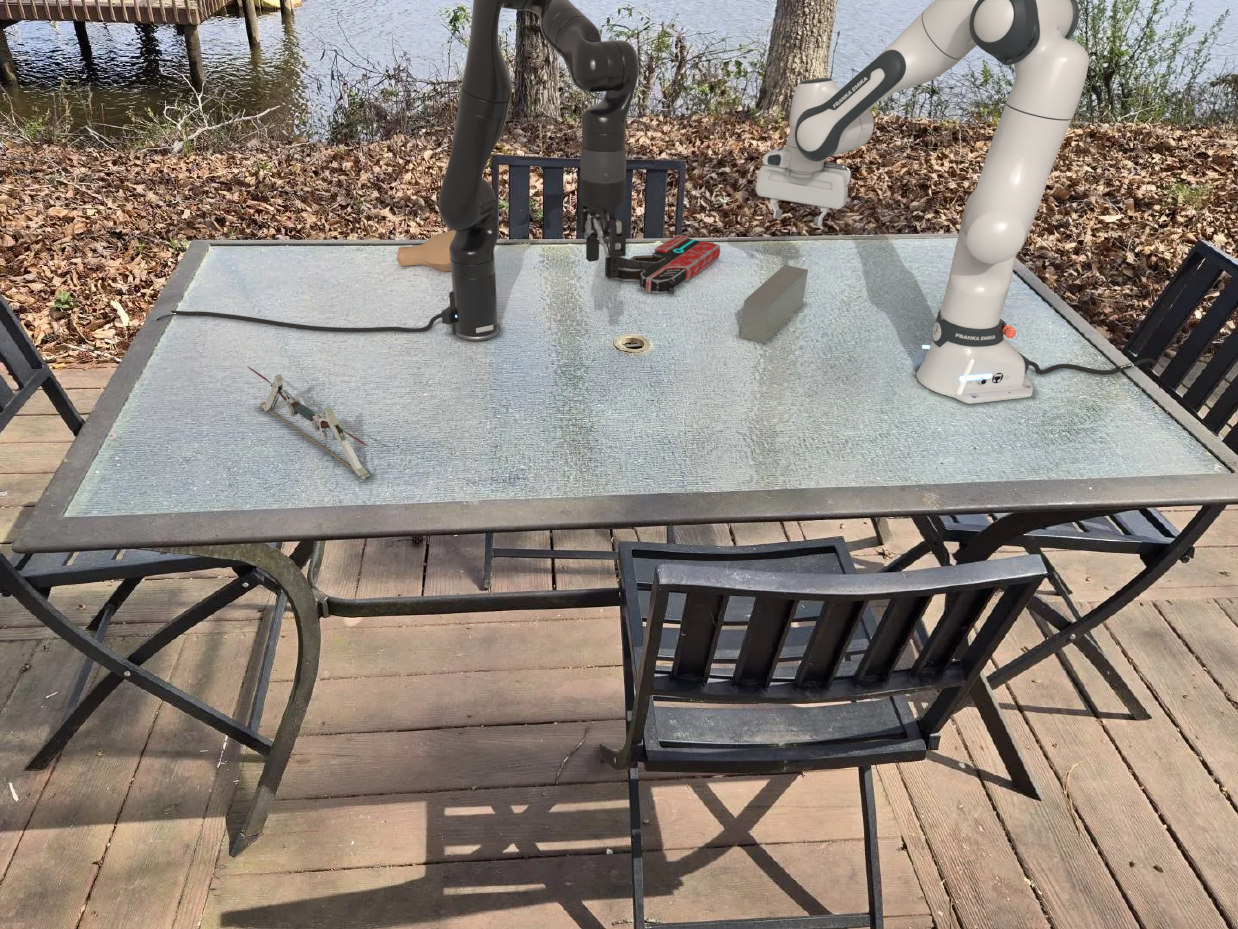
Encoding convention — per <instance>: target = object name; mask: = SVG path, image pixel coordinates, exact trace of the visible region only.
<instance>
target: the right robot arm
mask: <svg viewBox="0 0 1238 929" xmlns="http://www.w3.org/2000/svg"><path fill="white" fill-rule="evenodd" d="M1079 21H1080V5H1079V3H1078V0H933V1H932V2H931V3H930V4H929V5H928V6H927V7H925V9H924V10H923V11H922V12H921V13H920V14H919V15H918V16H916V18H915V19H914V20H913V21H912V22H911V23H910V24H909V25H908V26H907V27H906V28H905V29H904V30H903V31H902V32H901V33H900V35H898V36H897V38H895V39H894V40H893V42H891V43H890V44H889V45H888V46H887V47H886V48H885V49H884V50H882V52H881V53H880V54H879V55H877V57H876V58H874V60H872V61H871V62H870V63H869V64H868V65H867V66H865V67H864V68H863V69H862V70H861V71H860V72H858V73H857V74H856V75H855V76H854V77H852V79H850V80H849V81H848V82H847V83H846V84H845V85H844V86H842V88H840V87H839V86H838V84H837V83H836V81H835V80H834V79H833V78H829V77H815V78H810V79H805V80H802V81H800V82H799V83H798V84H797V85H796V87H795V90H794V93H793V96H792V100H791V106H790V111H789V118H788V121H789V122H788V125H789V134H788V137H787V141H786V144H785V146H784V147H783V146H782V147H778V148H773V149H771V150H770V151H768V152H766V153H765V154H764V155H763V157H762V162H763V165H762V166H761V167H760V168H759V170H758V174H757V178H756V184H755V193H756V195H757V196H758V197H761V198H769V199H770V200H769V204H770V206H771V209H772V211H773V214H772V218H773V219H775V220H776V219H777V220H781V219H782V217H783V209H780V207H779V204H778V202H780V201H785V202H791V203H796V204H803V205H808V206H809V205H810V206H815V207H820V211H819V212H821V213H820V215H816V216H815V217H813V224H812V225H813V226H816V227H821V226H823V220H824V217H825V216H826V215H827V214H828V212H829V211H830V209H834V210H840V209H842V208H843V207H845V206H846V204H847V203H848V196H849V185H850V183H851V179H852V171H851V169H850V167H847V165H846V164H844V163H836V162H831V161H827V159H828V158H831V157H832V156H837V155H841V154H844V153H847V152H850V151H853V150H857V149H859V148H862V147H863V146H865V145H867V143H868V142H869V141H870V140H871V138H872V136H873V133H874V130H875V117H874V113H873V112H872V108H873V107H874V106H875V105H876V104H877V103H879V102H880V101H882V100H884V99H885V98H887V97H889V96H891V95H893V94H896V93H898V92H901V91H903V90H906V89H909V88H913V87H916V86H920V85H924V84H925V83H929V82H931V81H933V80H935V79H936V78H938V77H940V76H941V75H943V74H944V73H946V72H948V71H949V70H951V69H952V68H953V67H954V66H956V65H957V64H958V63H959V62H960V61H961V60H963V59H964V58H965V57H966V56H967V55H968V54H969V53H970V52H971V51H972V50H974V49H975V48H976V47H978V48H980V49H981V50H982V51H984V52H985V53H987V54H989V55H990V56H991V57H993V58H995V60H997V61H998V62H999V63H1000V64H1002V65H1003V66H1012V65H1013V66H1014V71H1015V72H1014V73H1015V74H1014V80H1013V84H1012V86H1011V90H1010V92H1009V95H1008V97H1007V100H1006V102H1005V105H1004V108H1003V110H1002V113H1001V116H1000V118H999V120H998V123H997V126H996V129H995V131H994V134H993V137H992V139H991V141H990V144H989V148H988V150H987V154H986V157H985V160H984V163H983V166H982V169H981V173H980V176H979V178H978V182H977V185H976V187H975V189H974V190H973V192H971V193H970V195H969V197H968V199H967V200H966V202H965V205H964V210H963V213H962V219H961V222H960V226H959V230H958V235H957V240H956V244H955V249H954V254H953V257H952V262H951V266H950V271H949V275H948V279H947V283H946V287H945V292H944V295H943V299H942V303H941V308H940V309H939V310H938V312H937V315H936V317H935V318H936V319H935V322H934V324H933V329H932V335H931V342H930V345H929V344H927V345H926V344H922V346H921V348H922V349H927V353H926V355H925V356H924V359H923V361H922V363H921V364H920V367H919V368H918V369H917V372H916V374H915V375H916V376H915V377H916V379H917V381H918V383H920V384H921V385H922V386H924V387H925V388H926V389H928V390H931V391H932V392H935V393H937V394H940V395H943V396H947V397H950V398H953V399H956V400H957V401H960V402H962V403H965V404H968V405H973V404H981V403H989V402H1000V401H1007V400H1017V399H1024V398H1025V399H1026V398H1031V397H1032V396H1033V393H1034V386H1033V384H1032V382H1031V381H1030V379H1029V378H1028V377H1027V376H1026V375H1027V372H1028V370H1029V366H1031V367H1032V368H1034V371H1035V373H1037V374H1039V375H1046V374H1049V373H1052V372H1054V371H1055V370H1059V369H1071V370H1076V371H1081V372H1085V373H1089V374H1093V375H1094V374H1095V375H1113V374H1117V373H1119V372H1122V371H1125V370H1128V369H1132V368H1133V367H1132V365H1131V366H1126V367H1123V368H1121V369H1117V368H1119V367H1120V366H1119V367H1116V368H1113V369H1097V368H1091V367H1086V366H1083V365H1078V364H1074V363H1073V364H1072V363H1059V364H1055V365H1052V366H1050V367H1048V368H1045V369H1041V368H1040V366H1039V364H1038V363H1036V362H1035V361H1033V360H1030V359H1029V358H1028V357H1026V356H1024V355H1023V354H1022V353H1021V352H1020V351H1018V350H1017V349H1016V348H1015V347H1014V346H1013V345H1012V344H1011V343H1010V342H1009V341H1008V340H1007V339H1014V337H1016V335H1017V330H1016V328H1014V327H1013V326H1012V325H1009V324H1008V325H1007V322H1006V321H1005V320H1003V319H1002V318H1001V317H1002V314H1003V311H1004V307H1005V303H1006V301H1007V297H1008V293H1009V290H1010V285H1011V283H1012V277H1013V272H1014V266H1015V263H1016V259H1017V255H1018V253H1019V252H1020V251H1021V249H1022V248H1023V247H1024V245H1025V244H1026V241H1027V239H1028V237H1029V234H1030V231H1031V229H1032V226H1033V223H1034V220H1035V218H1036V215H1037V213H1038V210H1039V207H1040V204H1041V202H1042V198H1043V197H1044V196H1043V195H1044V194H1045V193H1044V192H1045V190H1046V188H1047V184H1048V181H1049V177H1050V176H1051V172H1052V169H1053V166H1054V164H1055V161H1056V159H1057V156H1058V154H1059V151H1060V149H1061V146H1062V144H1063V142H1064V140H1065V137H1066V135H1067V132H1068V130H1069V128H1070V125H1071V123H1072V120H1073V118H1074V116H1075V113H1076V110H1077V108H1078V105H1079V103H1080V100H1081V97H1082V93H1083V90H1084V87H1085V83H1086V79H1087V75H1088V69H1089V65H1090V57H1089V54H1088V51H1087V50H1086V48H1085V47H1083V46H1082V45H1081V44H1080V43H1079V42H1076V41H1074V40H1071V38H1072V37H1073V35H1074V33H1075V32H1076V30H1077V27H1078V25H1079ZM1004 336H1005V337H1006V338H1007V339H1005V338H1004ZM1132 363H1133V364H1134V366H1135V367H1137V366H1140V365H1142V364H1146V363H1149V364H1150V366H1154V367H1155V366H1157V362H1156V360H1154V359H1153V358H1149V357H1148V358H1141V359H1138V360H1136V361H1133V362H1132ZM1131 367H1132V368H1131Z"/></svg>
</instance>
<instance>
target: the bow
mask: <svg viewBox="0 0 1238 929" xmlns="http://www.w3.org/2000/svg"><path fill="white" fill-rule="evenodd" d="M247 368H248V369H249V370H250V371H252V372H253V373H254V374H256V375H257V376H259V377H260V378H261V379H263V380H264V381H266V382H267V383H268V384H270V393H269V394H268V395H267V397H266V399H265V401H263V402H261V403H259V404H258V405H259V408H260V409H261V410H263V411H265V412H267V411H268V412H270V413H272V414H273V415H274V416H276V417H277V418H278V419H280V420H281V421H283V422H284V423H286V424H287V425H288V426H290V427H291V428H293V429H295V431H297V432H298V433H301V435H303V436H305V437H306V438H307V439H309V440H310V441H312V442H313V443H315V444H316V445H317V446H319V447H320V448H322V449H323V450H325V451H326V452H328V453H329V454H330V455H332V456H333V457H334V458H336V459H337V460H339V461H341V462H342V463H343V464H345V465H346V466H348V467H349V468H350V469H351V470H354V472H355V473H356V475H357V476H358V477H359V478H361V479H362V480H366V479H367V478H370V477H371V474H370V473H369V472H368V471H367V470H366V469H365V468H364V466H362V464H361V463H360V461H359V458H358V455H357V454H356V452H355V451H354V449H353V447H352V445H351V444H350V442H349V440H348V438H347V435H348V436H349V437H351V439H353V440H355V441H357V442H358V443H359V444H362V445H364V446H366V447H367V448H369V447H370V445H369V444H368V443H366V442H364V441H363V440H361V439H360V438H358V437H356V436H355V435H353V433H352V434H351V433H350V432H348V431H345V430H344V428H343V427H342V425H341V424H340V422H339V420H338V418H337V417H336V415H335V413H334V411H333V408H332V407H331V406H330V405H328V406H326V407H324V412H320V413H318V414H316V413H315V411H314V410H312V409H311V408H309V407H308V406H307V405H305V404H303V403H301V402H300V398H299V396H298V395H295V396H294V397H293V396H292V394H290V392H289V391H288V390H286V389H284V381H283V377H282V374H277V375H275V376H274V380H273V382H271V381H270V380H269V379H267V377H265V376H263V375H262V374H260V373H259V372H257V371H256V370H255V369H253V368H252V367H251V366H248V365H247ZM280 397H281V398H282V399H283V401H285V403H286V406H287V407H288V417H290V418H291V419H292V418H294V417H298V414H299V415H300V416H301V417H303V418H304V419H306V420H307V421H309V422H311V426H312V428H313V429H314V430H315V431H319V435H320V439H322V440H323V441H325V440H327V439H329V438H330V435H329V431H328V429H331V431H332V433H333V434H334V437H335V439H336V440H337V442H338V444H339V446H340V449H341V450H342V452H343V454H344V455H345V457H346V459H347V462H348V463H349V464H348V463H347V462H346V461H344V460H343V459H341V458H340V457H338V456H337V455H336V454H334V453H333V452H331V451H330V450H328V449H327V448H326V447H324V446H322V445H321V444H320V443H318V442H316V441H315V440H314V439H312V438H311V437H309V436H308V435H307V434H305V433H304V432H302V431H301V430H299V429H298V428H296V426H294V425H292V424H291V423H289V422H288V421H286V420H285V419H283V418H282V417H281V416H279V415H278V414H277V413H275V412H273V411H272V409H273V408H275V407H276V404H277V403H278V402H279V398H280ZM322 429H323V430H322Z"/></svg>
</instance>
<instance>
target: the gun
mask: <svg viewBox="0 0 1238 929" xmlns="http://www.w3.org/2000/svg"><path fill="white" fill-rule="evenodd" d="M720 254H721V245H720V244H717V243H715V242H710V241H707V240H702V241H701V240H698V239H693V238H689V236H688V235H683V234H676V235H675V236H673V237H671V238H670V239H668V240H666V241H665V242H662V244H659V245H657V246H656V247H655V248H654V251H653V252H652V254H647V255H645V254H643V255H633V256H632V257H630V258H625V257H624V256H621V257H619V272H618V277H616V278H613V279H615V280H618V281H620V282H639V288H640V289H641V290H642V291H645V292H646V293H649V294H650V293H654V294H657V295H658V294H663V293H668V294H671V295H674V294H675V289H676V288H678V287H680V285H682V284H683V283H684V282H689V281H690V280H691V279H693V278H695V277H696V276H698V275H699V274H700V273H701V272H703V271H705V269H707V268H708V267H709V266H710V265H712V264H713V263H714V262H716V261H717V260H719V257H720Z"/></svg>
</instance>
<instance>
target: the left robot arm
mask: <svg viewBox="0 0 1238 929" xmlns="http://www.w3.org/2000/svg"><path fill="white" fill-rule="evenodd" d="M502 9H508V10H515V11H529V12H532V13H533V14H536V15H537V16H538V17H539V24H540V25H539V27H540V31H541V34H542V36H543V38H544V39H545V41H546V43H547V44H548V45H549V46H550V47H551V48H552V49H553V50H554V51H555V52H556V53H557V54H558V55H559V56H560V57H561V58H562V59H563V62H564V64H565V65H566V68H567V71H568V72H569V76H570V78H571V80H572V82H573V84H574V86H576V88H578V89H579V90H581V91H582V92H586V93H592V94H593V93H602V92H605V93H604V95H603V98H602V99H601V101H600V102H599V103H596V104H594V105H592V106H590V107H588V108H586V109H585V110H584V111H583V113H582V118H581V154H580V162H579V163H580V167H579V168H580V171H579V172H580V173H579V174H580V177H579V178H580V180H579V181H580V186H579V190H580V191H579V192H580V193H579V194H580V195H579V196H580V198H579V199H580V220H579V221H580V222H579V223H580V226H579V231H580V233H581V234H583V237H584V240H585V250H586V251H585V259H586V260H587V262H589V263H592V262H598V261H599V259H600V246H602V247H603V250H604V255H605V256H604V260H605V261H604V264H605V265H604V276H605V278H606V279H614V278H616V277H618V272H619V257H626V254H627V222H626V220H625V219H621V220H619V218H618V212H617V210H618V209H619V208H620V207H622V206H624V204H625V203H626V187H627V155H626V154H627V153H626V137H627V136H626V135H627V134H626V133H627V132H626V131H627V119H628V115H629V112H630V108H631V105H632V102H633V101H632V100H633V97H634V94H635V90H636V87H637V83H638V79H639V72H640V65H639V64H640V63H639V58H638V57H639V56H638V54H637V51H636V50H635V47H633V45H632V44H631V43H630V42H629V41H626V40H621V39H618V40H617V39H616V40H604V41H602V36H601V32H600V30H599V29H598V27H597V25H595V24H594V23H593V22H592V21H591V20H590V19H589V18H588V17H587V16H586V15H585V14H584V13H583V12H582V11H581V10H580V9H578V8H577V7H576V5H574V4H573V3H572V2H571V1H570V0H473V2H472V13H471V24H470V34H469V40H468V47H467V54H466V59H465V60H466V61H465V66H464V71H463V76H462V81H461V86H460V91H459V97H458V103H457V104H458V105H457V113H456V119H455V125H454V129H453V136H452V142H451V148H450V154H449V158H448V163H447V166H446V170H445V173H444V177H443V179H442V183H441V187H440V191H439V194H438V199H437V200H438V201H437V202H438V205H437V207H438V212H439V215H440V216H439V217H440V218H441V220H442V222H443V223H444V225H445V226H446V227H447V228H449V229H450V230H454V231H456V234H455V236H454V238H453V240H452V241H451V243H450V246H449V253H450V264H451V271H450V275H451V276H450V277H451V286H452V290H451V291H450V292H448V297H449V306H447V307H445V309H443V310H442V311H441V312H440V313H438V314H436V315H434V316H432V317H431V318H430V320H429V322H428V324H427V325H425V326H423V327H418V328H417V327H416V328H412V327H411V328H410V327H402V326H374V327H337V326H336V327H334V326H322V325H321V326H319V325H310V324H309V325H307V324H299V323H293V322H285V321H277V320H271V319H265V318H259V317H252V316H245V315H237V314H230V313H222V312H214V311H198V310H197V311H190V310H189V311H186V310H170V311H171V312H172V313H176V314H173V315H172V316H189V317H192V316H193V317H194V316H199V317H200V316H201V317H202V316H203V317H212V318H213V317H214V318H223V319H231V320H238V321H246V322H252V323H259V324H266V325H271V326H277V327H284V328H293V329H300V330H308V331H318V332H319V331H320V332H337V333H371V332H373V333H374V332H403V333H423V332H427V331H429V330H430V329H431V328H432V327H433V325H434V324H435V322H436V321H437V320H439V319H441V322H442V324H443V325H449V326H450V325H451V332H452V334H453V335H456V336H457V337H458V338H460V339H462V340H464V341H470V342H479V341H481V342H482V341H486V340H487V341H488V340H491V339H493V338H494V337H495V338H496V337H497V335H499V333H500V326H499V312H498V311H499V310H498V296H497V295H498V294H497V293H498V292H497V276H496V275H497V274H496V261H495V259H496V258H495V248H496V245H497V241H498V205H497V198H496V194H495V191H494V189H493V187H492V185H491V184H490V183H489V182H488V181H487V180H486V179H485V178H483V175H484V172H485V169H486V165H487V164H488V161H489V159H490V157H491V155H492V153H493V152H494V150H495V147H496V146H497V143H498V142H499V139H500V137H501V135H502V134H503V131H504V129H505V126H506V123H507V119H508V115H509V109H510V105H511V100H512V94H513V84H512V79H511V75H510V72H509V69H508V66H507V64H506V60H505V58H504V54H503V52H502V49H501V46H500V40H499V23H500V17H501V16H500V14H501V11H502Z"/></svg>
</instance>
